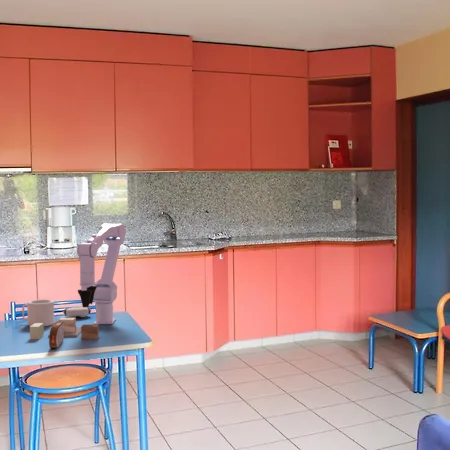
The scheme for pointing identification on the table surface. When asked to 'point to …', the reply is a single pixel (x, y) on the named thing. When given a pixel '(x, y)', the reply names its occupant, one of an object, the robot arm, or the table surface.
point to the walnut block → (90, 331)
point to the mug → (40, 312)
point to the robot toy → (77, 311)
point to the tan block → (69, 324)
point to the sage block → (36, 331)
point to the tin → (56, 334)
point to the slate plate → (72, 333)
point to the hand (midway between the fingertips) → (87, 305)
